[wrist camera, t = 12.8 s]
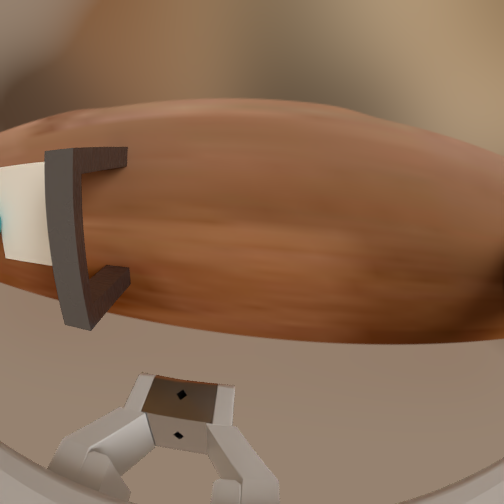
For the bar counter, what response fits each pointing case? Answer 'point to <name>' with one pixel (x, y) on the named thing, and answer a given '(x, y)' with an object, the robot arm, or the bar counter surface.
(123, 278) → the bridge
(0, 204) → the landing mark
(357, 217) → the bar counter surface
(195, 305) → the bar counter surface
